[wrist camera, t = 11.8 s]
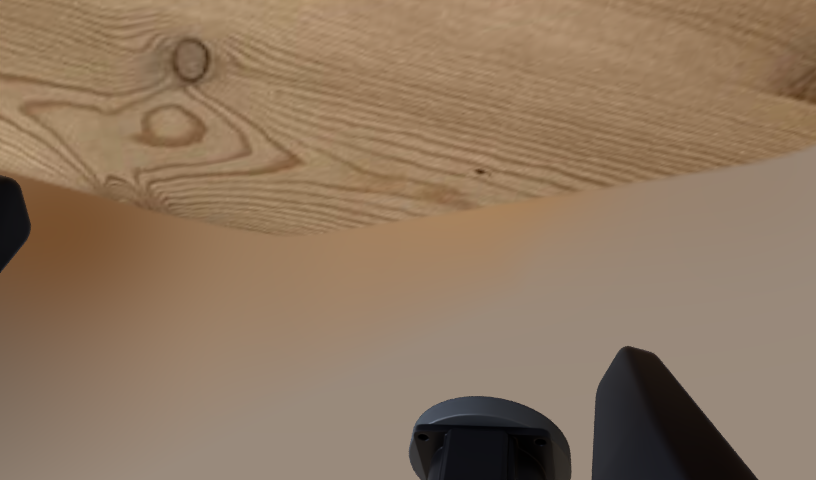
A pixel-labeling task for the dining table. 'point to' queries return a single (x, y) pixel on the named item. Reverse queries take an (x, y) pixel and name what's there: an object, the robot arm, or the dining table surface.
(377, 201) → the dining table surface
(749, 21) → the dining table surface
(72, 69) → the dining table surface
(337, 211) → the dining table surface
